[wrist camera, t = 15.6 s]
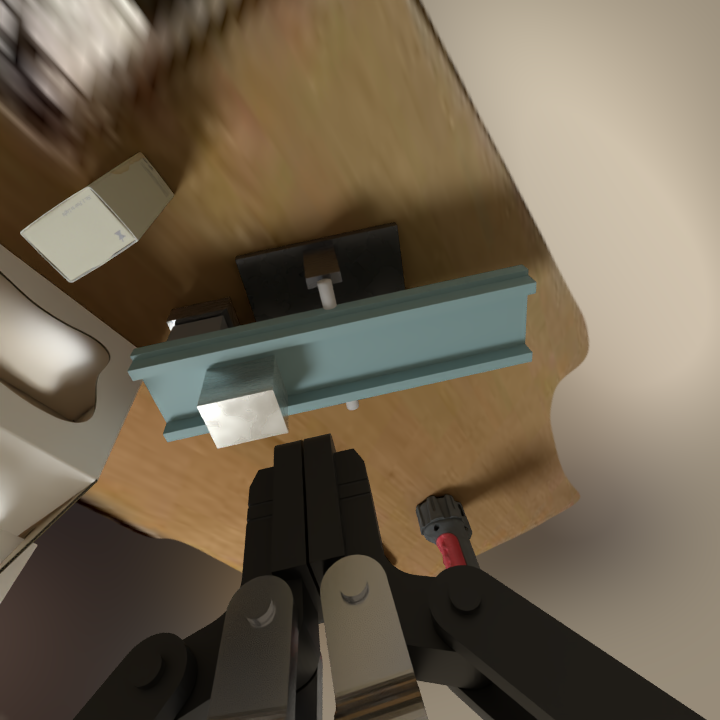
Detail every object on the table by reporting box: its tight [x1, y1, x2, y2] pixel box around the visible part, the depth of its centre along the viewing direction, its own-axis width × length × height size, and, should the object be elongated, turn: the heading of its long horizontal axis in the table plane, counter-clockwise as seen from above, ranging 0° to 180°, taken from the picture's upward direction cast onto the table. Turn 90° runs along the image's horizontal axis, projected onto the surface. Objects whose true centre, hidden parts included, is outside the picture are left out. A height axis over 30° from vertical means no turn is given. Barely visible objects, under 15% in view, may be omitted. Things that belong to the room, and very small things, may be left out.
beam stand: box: [166, 222, 405, 404], centre depth 45 cm, size 15×24×8 cm, turn 100°
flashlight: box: [416, 495, 480, 569], centre depth 60 cm, size 8×8×23 cm
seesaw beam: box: [127, 265, 536, 442], centre depth 42 cm, size 14×34×9 cm, turn 100°
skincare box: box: [20, 152, 174, 282], centre depth 35 cm, size 6×4×12 cm
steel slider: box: [197, 355, 288, 448], centre depth 38 cm, size 5×6×5 cm
